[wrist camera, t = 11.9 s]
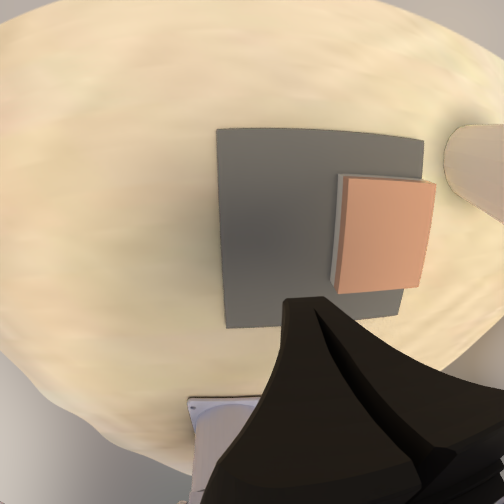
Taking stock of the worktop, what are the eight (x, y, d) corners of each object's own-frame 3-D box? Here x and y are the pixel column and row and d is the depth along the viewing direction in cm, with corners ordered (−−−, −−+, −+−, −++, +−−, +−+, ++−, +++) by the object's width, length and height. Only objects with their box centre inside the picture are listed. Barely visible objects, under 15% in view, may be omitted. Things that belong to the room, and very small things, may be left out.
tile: (329, 280, 20) (406, 275, 20) (337, 294, 18) (418, 287, 18) (338, 173, 17) (421, 178, 17) (348, 178, 15) (436, 184, 16)
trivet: (394, 311, 22) (397, 315, 21) (226, 323, 21) (226, 328, 21) (419, 140, 17) (424, 140, 16) (217, 129, 16) (216, 129, 16)
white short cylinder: (493, 117, 16) (559, 127, 10) (496, 200, 19) (555, 228, 12) (432, 117, 16) (505, 123, 10) (438, 212, 19) (502, 249, 13)
